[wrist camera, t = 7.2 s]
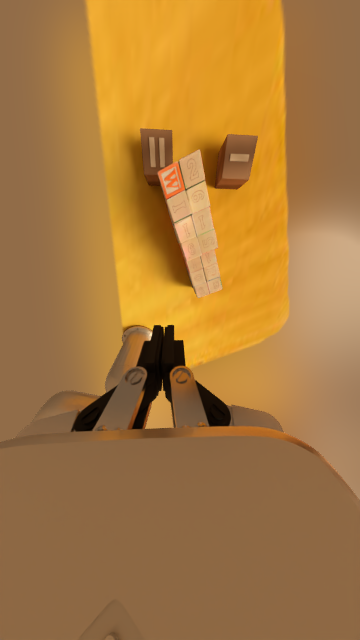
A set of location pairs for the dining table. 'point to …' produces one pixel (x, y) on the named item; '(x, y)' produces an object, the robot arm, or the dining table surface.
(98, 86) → the dining table surface
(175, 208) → the stack of blocks
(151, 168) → the walnut cube two
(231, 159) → the walnut cube one
